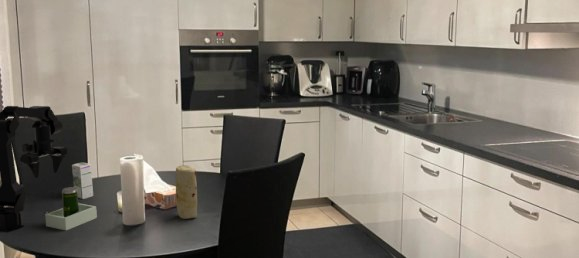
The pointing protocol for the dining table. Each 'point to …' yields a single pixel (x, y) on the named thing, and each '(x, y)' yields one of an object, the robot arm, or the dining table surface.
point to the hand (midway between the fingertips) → (46, 175)
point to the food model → (186, 192)
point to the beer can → (70, 201)
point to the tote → (71, 217)
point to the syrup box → (83, 179)
